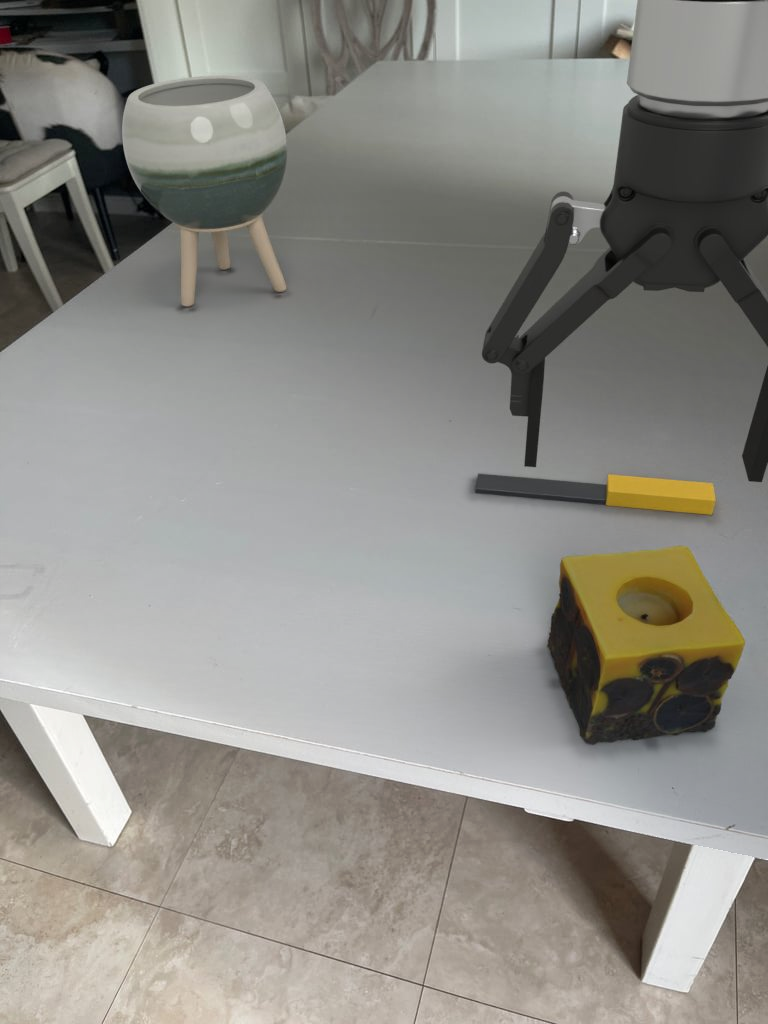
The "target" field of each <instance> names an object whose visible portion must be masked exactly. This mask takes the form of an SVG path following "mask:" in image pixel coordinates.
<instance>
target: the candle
mask: <svg viewBox="0 0 768 1024" xmlns="http://www.w3.org/2000/svg"><path fill="white" fill-rule="evenodd" d="M558 588H559V594H558V596H559V599H558V601H557V603H556V606H555V608H554V610H553V613H552V614H551V617H550V627H549V632H548V638H547V645H546V647H547V648H548V649H549V650H550V651H551V652H550V656H551V658H552V660H553V662H554V670H555V671H556V673H557V676H558V678H559V682H560V685H561V688H562V690H563V692H564V693H565V695H566V696H565V698H566V700H567V702H568V705H569V708H570V709H571V710H572V713H573V715H574V717H575V720H576V722H577V724H578V727H579V737H581V739H582V740H583V741H584V743H585V744H587V745H592V746H594V745H596V744H597V743H615V742H617V741H626V740H632V741H639V740H645V739H651V738H657V737H664V736H679V735H681V734H685V733H687V734H689V733H698V732H699V733H707V732H709V731H711V730H713V728H715V726H716V721H717V718H718V715H720V712H721V710H722V700H723V697H724V694H725V692H726V691H727V688H728V687H729V686H728V685H729V681H730V680H731V679H732V678H733V675H734V674H735V672H736V669H737V667H738V666H739V665H738V664H739V662H740V659H741V657H742V655H743V651H744V648H745V644H746V640H745V638H744V636H743V634H742V633H741V630H740V629H739V627H738V626H737V624H736V623H735V622H734V620H733V619H732V617H731V616H730V615H729V613H728V612H727V611H726V610H725V608H724V606H723V605H722V603H721V601H720V600H719V598H718V597H717V595H716V593H715V591H714V590H713V588H712V587H711V585H710V583H709V581H708V580H707V579H706V577H705V575H704V573H703V572H702V569H701V567H700V565H699V564H698V562H697V559H696V558H695V556H694V554H693V552H692V551H691V549H690V547H688V546H685V545H675V546H674V545H673V546H669V547H662V548H657V549H641V550H632V551H623V552H613V553H612V552H611V553H594V554H585V555H569V556H564V557H562V558H561V561H560V563H559V579H558Z"/></svg>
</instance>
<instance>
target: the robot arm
mask: <svg viewBox="0 0 768 1024" xmlns="http://www.w3.org/2000/svg"><path fill="white" fill-rule="evenodd" d="M626 77H627V79H626V85H627V86H628V88H630V91H632V93H633V94H636V95H634V96H633V97H631V98H630V99H629V100H628V101H627V102H628V103H626V104H625V105H624V106H623V108H622V116H621V123H620V130H619V138H618V147H617V154H616V162H615V169H614V177H613V185H612V188H611V191H610V192H609V195H608V197H607V198H606V200H605V201H604V202H603V203H600V202H592V201H584V200H576V199H574V197H573V195H572V194H571V193H569V192H568V191H559V192H556V193H555V195H553V197H552V199H551V203H550V207H549V212H548V217H547V222H546V227H545V232H544V233H543V235H542V237H541V239H540V240H539V242H538V243H537V246H536V247H535V248H534V250H533V252H532V253H531V255H530V257H529V259H528V260H527V262H526V264H525V266H524V267H523V269H522V271H521V272H520V274H519V276H518V277H517V279H516V281H515V282H514V284H513V285H512V287H511V289H510V290H509V292H508V294H507V296H506V298H505V299H504V301H503V302H502V304H501V306H500V307H499V309H498V311H497V313H496V314H495V316H494V317H493V319H492V321H491V322H490V324H489V326H488V328H486V329H487V330H486V331H485V334H484V338H483V344H482V350H481V357H482V359H483V360H484V362H486V363H488V364H497V363H499V364H501V365H504V366H506V367H507V368H508V369H509V370H510V374H511V376H510V377H511V379H510V380H511V381H510V395H509V411H510V413H511V415H512V416H513V417H527V425H526V437H525V451H524V462H523V463H524V464H523V466H524V467H525V468H526V467H527V468H537V462H538V450H539V449H538V448H539V438H540V428H541V415H542V406H543V405H542V404H543V395H544V394H543V392H544V382H545V366H546V365H545V363H546V357H548V356H549V355H550V354H552V352H553V351H555V349H557V347H559V346H560V345H561V344H562V343H563V342H564V341H565V340H566V339H568V338H569V336H571V335H572V334H573V333H574V332H575V331H576V330H577V329H579V328H580V326H582V325H583V324H584V323H585V322H586V321H587V320H588V319H589V318H591V317H592V316H593V314H595V313H596V312H597V311H598V310H599V309H600V308H601V307H603V306H604V305H605V304H606V303H607V302H608V301H610V300H614V299H615V298H617V297H618V296H619V295H620V294H621V293H622V292H623V291H624V290H626V289H627V288H628V287H629V286H630V285H631V284H632V283H634V284H636V285H638V286H639V287H640V286H641V287H642V288H643V291H649V292H651V291H652V292H653V291H654V292H655V291H656V292H658V291H659V292H660V291H665V290H669V289H674V288H675V289H678V290H682V291H685V292H691V293H692V292H694V293H704V292H705V289H707V288H710V287H713V286H715V285H717V284H718V283H720V282H721V284H722V286H723V287H724V288H725V290H726V291H727V292H728V293H729V295H730V297H731V298H732V300H733V302H735V303H736V304H737V305H738V306H739V308H740V309H741V310H742V313H743V314H744V315H745V317H746V318H747V320H749V322H750V324H751V325H752V327H753V328H754V330H755V331H756V333H757V334H758V335H759V337H760V338H761V340H762V341H763V342H764V344H765V346H766V347H767V348H768V294H767V292H766V290H765V289H764V288H763V286H762V285H761V283H760V282H759V280H758V279H757V278H756V276H755V275H754V274H755V273H753V271H752V270H751V267H750V266H749V264H748V262H747V261H746V259H745V258H746V257H748V255H750V254H751V252H752V251H753V250H755V249H756V248H757V247H758V246H759V245H760V244H761V243H762V242H763V241H764V240H765V239H766V238H767V237H768V0H637V2H636V10H635V17H634V25H633V32H632V40H631V47H630V56H629V62H628V69H627V76H626ZM594 229H600V232H601V234H602V236H603V238H604V240H605V241H606V243H607V244H608V246H609V248H607V249H606V250H605V251H604V252H603V253H602V254H601V255H600V256H599V257H598V258H597V260H596V261H595V263H594V265H593V266H592V267H591V268H590V269H589V271H587V272H586V273H585V274H584V275H583V276H582V277H581V278H580V279H579V280H578V281H577V282H576V283H575V284H574V285H573V286H571V288H570V289H568V290H567V292H565V293H564V295H563V296H562V297H560V298H559V299H558V300H557V301H556V302H555V303H554V304H553V305H551V307H550V308H548V310H547V311H546V312H545V313H543V315H542V316H541V317H540V318H538V319H537V320H536V321H535V322H534V324H532V325H531V326H530V327H529V328H528V329H527V330H526V331H524V333H522V335H519V334H518V333H519V331H520V330H521V328H522V326H523V325H524V324H525V321H526V320H527V318H528V317H529V315H530V314H531V312H532V310H533V309H534V307H535V306H536V304H537V303H538V301H539V299H540V298H541V296H542V294H543V292H545V289H546V288H547V286H548V285H549V283H550V282H551V280H552V278H553V277H554V275H555V274H556V272H557V270H558V269H559V267H560V265H561V264H562V262H563V260H564V258H565V255H566V254H567V250H568V247H569V246H576V245H579V244H580V243H582V241H583V240H584V239H585V237H586V235H587V234H588V233H589V232H590V231H592V230H594ZM763 376H764V377H763V380H762V384H761V387H760V391H759V394H758V396H757V401H756V405H755V408H754V411H753V416H752V419H751V422H750V426H749V429H748V433H747V437H746V439H745V443H744V447H743V451H742V454H741V458H742V462H743V465H744V470H745V473H746V476H747V480H748V482H751V483H762V482H763V479H764V476H765V473H766V470H767V467H768V365H767V366H766V369H765V373H764V375H763Z"/></svg>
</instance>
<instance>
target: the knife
mask: <svg viewBox="0 0 768 1024" xmlns="http://www.w3.org/2000/svg"><path fill="white" fill-rule="evenodd" d="M474 490H475V491H474V493H476V494H486V495H497V496H508V497H517V498H518V497H519V498H530V499H541V500H552V501H560V502H561V501H562V502H572V503H584V504H593V505H594V504H596V505H605V506H609V507H610V506H611V507H620V508H633V509H641V510H654V511H663V512H675V513H685V514H687V513H688V514H695V515H696V514H699V515H708V516H712V515H713V512H714V510H715V505H716V501H717V500H716V494H715V488H714V483H713V482H704V481H692V480H680V479H667V478H657V477H655V478H654V477H642V476H632V475H622V474H621V475H619V474H607V479H606V484H604V483H593V482H581V481H571V480H569V481H568V480H557V479H545V478H533V477H522V476H511V475H500V474H488V473H477V478H476V483H475V488H474Z"/></svg>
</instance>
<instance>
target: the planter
mask: <svg viewBox="0 0 768 1024" xmlns="http://www.w3.org/2000/svg"><path fill="white" fill-rule="evenodd" d="M121 137H122V138H121V140H122V146H123V148H122V149H123V153H124V157H125V162H126V164H127V167H128V170H129V173H130V175H131V177H132V180H133V181H134V184H135V185H136V187H137V188H138V190H139V192H140V193H141V195H142V196H143V197H144V199H145V200H146V201H147V202H148V203H149V205H151V207H152V208H153V209H154V210H155V211H156V212H158V213H159V214H160V215H161V216H163V217H164V218H166V219H167V220H168V221H170V222H172V223H173V224H174V225H175V226H176V227H177V228H180V229H179V230H180V304H181V305H182V306H183V307H186V308H188V307H191V306H194V303H195V299H196V298H195V297H196V296H195V295H196V282H197V271H198V258H199V257H198V256H199V241H200V239H199V238H200V233H211V237H212V242H213V248H214V253H215V257H216V261H217V266H218V268H219V269H220V270H225V271H226V270H228V269H230V268H231V258H230V248H229V241H228V239H229V238H228V232H227V231H232V230H235V229H241V228H244V227H246V230H247V231H248V234H249V236H250V238H251V241H252V243H253V246H254V248H255V250H256V253H257V254H258V257H259V260H260V262H261V263H262V265H263V268H264V270H265V272H266V274H267V276H268V278H269V281H270V283H271V285H272V287H273V290H274V291H275V292H278V293H283V292H285V291H286V290H287V284H286V281H285V277H284V275H283V272H282V270H281V267H280V265H279V262H278V259H277V257H276V254H275V252H274V251H275V250H274V249H273V246H272V242H271V240H270V238H269V234H268V232H267V229H266V227H265V223H264V219H263V216H264V214H265V211H267V209H268V208H269V207H270V205H271V204H272V203H273V202H274V200H275V198H276V196H277V194H278V193H279V191H280V188H281V186H282V183H283V180H284V177H285V173H286V168H287V163H288V162H287V160H288V141H287V134H286V127H285V123H284V121H283V117H282V114H281V111H280V109H279V107H278V104H277V101H276V100H275V98H274V96H273V95H272V93H271V92H270V90H269V88H268V87H267V85H266V84H265V83H264V82H263V81H261V80H259V79H256V78H252V77H248V76H241V75H203V76H190V77H183V78H176V79H169V80H164V81H160V82H156V83H152V84H149V85H146V86H143V87H141V88H138V89H136V90H133V92H131V93H130V94H129V95H128V97H127V99H126V101H125V105H124V109H123V115H122V124H121Z"/></svg>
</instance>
